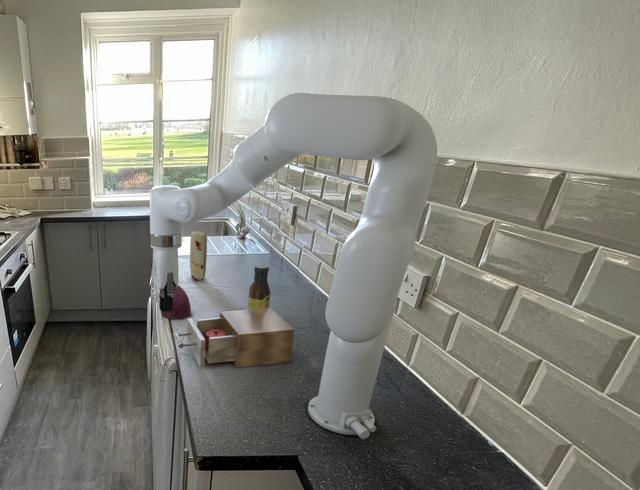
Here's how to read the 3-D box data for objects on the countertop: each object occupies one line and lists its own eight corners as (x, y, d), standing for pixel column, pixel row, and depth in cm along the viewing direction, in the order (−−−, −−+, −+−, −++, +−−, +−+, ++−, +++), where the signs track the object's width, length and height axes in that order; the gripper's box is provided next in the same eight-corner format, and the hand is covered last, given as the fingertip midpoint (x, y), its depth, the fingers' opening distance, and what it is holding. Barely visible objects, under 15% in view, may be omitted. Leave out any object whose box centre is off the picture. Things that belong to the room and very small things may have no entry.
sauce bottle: (267, 332, 122) (274, 270, 113) (246, 331, 123) (252, 269, 115) (265, 323, 127) (272, 263, 119) (245, 322, 129) (250, 263, 120)
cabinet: (236, 367, 105) (239, 334, 101) (218, 341, 118) (220, 311, 114) (290, 362, 106) (294, 329, 102) (266, 337, 119) (269, 307, 115)
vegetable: (168, 329, 134) (159, 292, 125) (158, 314, 142) (148, 278, 134) (197, 318, 135) (190, 281, 126) (185, 303, 143) (177, 267, 135)
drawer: (181, 368, 103) (181, 342, 100) (170, 344, 116) (170, 320, 112) (250, 362, 105) (252, 335, 102) (232, 338, 117) (233, 314, 114)
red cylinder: (208, 354, 107) (209, 336, 105) (202, 345, 112) (203, 327, 110) (227, 352, 108) (229, 334, 105) (221, 343, 113) (222, 325, 110)
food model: (186, 275, 174) (187, 229, 166) (201, 274, 175) (203, 228, 166) (192, 282, 165) (193, 234, 157) (208, 281, 166) (210, 233, 157)
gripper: (145, 234, 102) (147, 300, 110) (156, 249, 89) (157, 323, 97) (174, 232, 103) (174, 298, 111) (189, 246, 89) (187, 320, 97)
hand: (166, 309), depth 104 cm, fingers closed
